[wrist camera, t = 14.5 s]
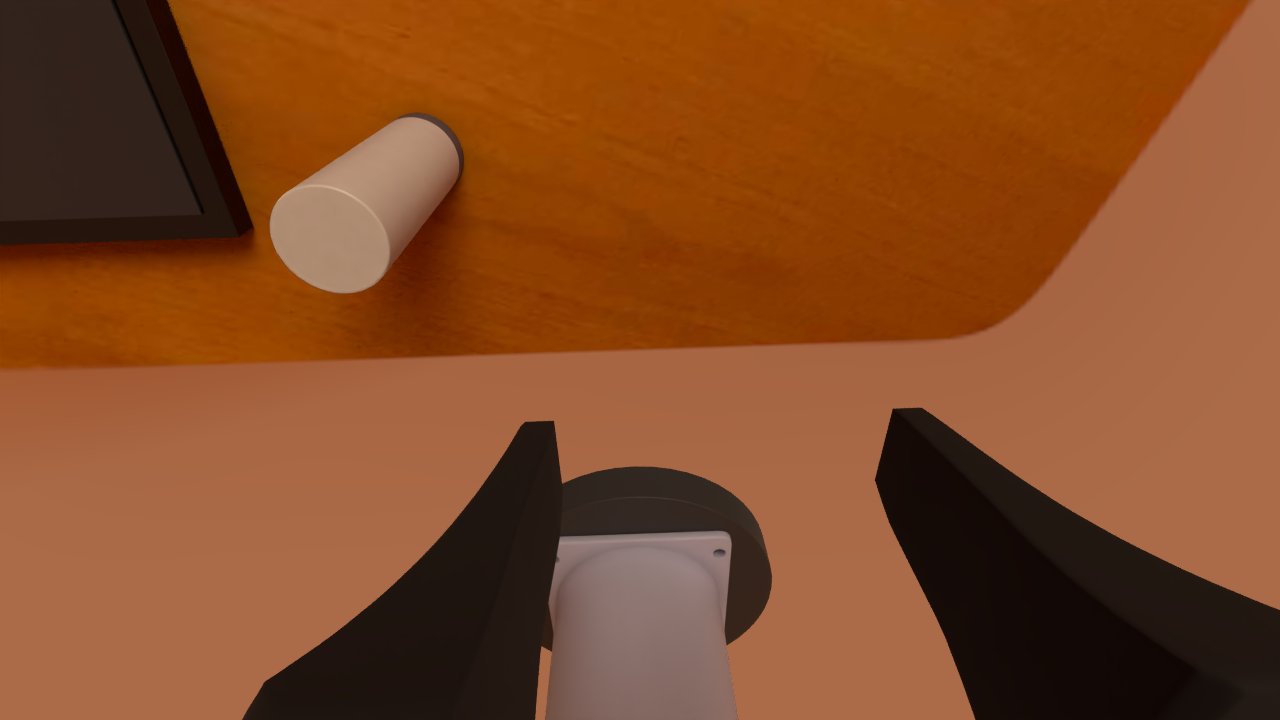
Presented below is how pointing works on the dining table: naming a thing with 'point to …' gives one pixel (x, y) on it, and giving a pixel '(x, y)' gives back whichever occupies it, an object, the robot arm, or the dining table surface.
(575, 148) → the dining table surface
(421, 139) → the beige cylinder
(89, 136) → the tablet
